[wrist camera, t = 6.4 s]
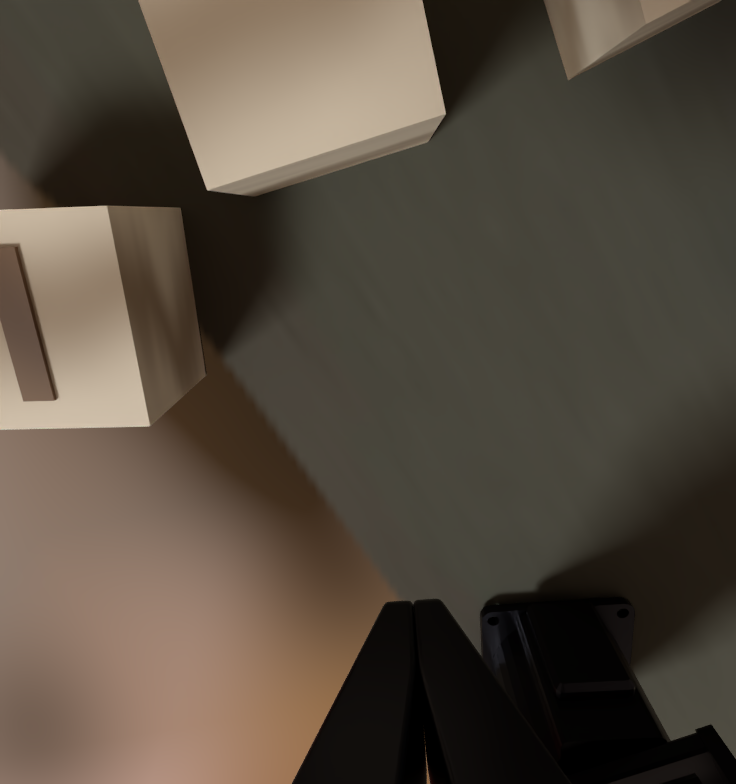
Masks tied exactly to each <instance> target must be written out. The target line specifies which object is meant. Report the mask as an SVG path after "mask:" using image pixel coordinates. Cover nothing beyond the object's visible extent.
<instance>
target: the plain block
mask: <svg viewBox="0 0 736 784" xmlns="http://www.w3.org/2000/svg"><path fill="white" fill-rule="evenodd" d="M139 3H140V6H141V9H142V11H143V14H144V17H145V20H146V23H147V25H148V28H149V31H150V34H151V36H152V39H153V42H154V45H155V47H156V50H157V53H158V56H159V59H160V61H161V64H162V67H163V70H164V72H165V75H166V78H167V81H168V83H169V86H170V89H171V92H172V94H173V97H174V100H175V103H176V106H177V108H178V111H179V114H180V117H181V119H182V122H183V125H184V128H185V130H186V133H187V136H188V139H189V141H190V144H191V147H192V150H193V153H194V155H195V158H196V161H197V164H198V166H199V169H200V172H201V175H202V177H203V180H204V183H205V186H206V189H207V190H208V191H216V192H223V193H231V194H238V195H246V196H253V197H255V196H259V195H262V194H265V193H268V192H271V191H274V190H278V189H281V188H284V187H287V186H290V185H293V184H297V183H300V182H303V181H306V180H309V179H312V178H316V177H319V176H322V175H325V174H328V173H331V172H335V171H338V170H341V169H344V168H347V167H351V166H354V165H357V164H360V163H363V162H366V161H370V160H373V159H376V158H379V157H382V156H385V155H389V154H392V153H395V152H398V151H401V150H404V149H408V148H411V147H414V146H417V145H420V144H424V143H427V142H428V141H429V140H430V138H431V137H432V135H433V134H434V132H435V130H436V129H437V127H438V126H439V124H440V122H441V121H442V119H443V118H444V116H445V115H446V112H445V107H444V102H443V97H442V92H441V88H440V83H439V78H438V73H437V68H436V64H435V59H434V54H433V49H432V44H431V40H430V35H429V30H428V25H427V20H426V16H425V11H424V6H423V1H422V0H139Z"/></svg>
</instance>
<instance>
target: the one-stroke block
mask: <svg viewBox="0 0 736 784" xmlns="http://www.w3.org/2000/svg"><path fill="white" fill-rule="evenodd" d="M206 375H207V371H206V364H205V358H204V351H203V344H202V338H201V332H200V330H199V326H198V319H197V313H196V306H195V299H194V293H193V286H192V279H191V273H190V266H189V259H188V253H187V246H186V239H185V233H184V226H183V219H182V213H181V208H175V207H138V206H86V207H61V208H35V209H10V210H0V430H5V429H7V430H9V429H52V428H53V429H54V428H99V427H142V426H143V427H144V426H151V425H152V424H153V423H154V422H155V421H156V420H158V419H159V418H160V417H161V416H162V415H163V414H164V413H165V412H166V411H167V410H168V409H170V408H171V407H172V406H173V405H174V404H175V403H176V402H177V401H178V400H179V399H181V398H182V397H183V396H184V395H185V394H186V393H187V392H188V391H189V390H190V389H191V388H192V387H193V386H195V385H196V384H197V383H198V382H199V381H200V380H201V379H202V378H203V377H205V376H206Z"/></svg>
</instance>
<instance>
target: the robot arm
mask: <svg viewBox="0 0 736 784" xmlns="http://www.w3.org/2000/svg"><path fill="white" fill-rule="evenodd" d="M413 609H414V611H413ZM620 609H623V610H621V611H619V610H620ZM493 616H494V617H495V618H493V619H489V618H490V617H493ZM634 617H635V610H634V608H633V606H632V605H631V603H630V602H629V600H628V599H626V598H622V597H615V598H599V599H583V600H567V601H551V602H535V603H519V604H503V605H490V606H486V607H485V608H483V609H482V610H481V613H480V627H481V653H482V657H481V655H480V654H479V653H478V651H477V650H476V648H475V647H474V645H473V644H472V643H471V641H470V640H469V638H468V637H467V636H466V634H465V633H464V631H463V630H462V629H461V627H460V626H459V624H458V623H457V622H456V620H455V619H454V617H453V616H452V614H451V613H450V612H449V610H448V609H447V607H446V606H445V605H444V603H443V602H442V601H441V600H439V599H425V600H416V601H415V602H414V604H412V603H411V602H410V601H394V602H387V603H385V605H384V606H383V608H382V610H381V612H380V613H379V615H378V617H377V619H376V621H375V623H374V625H373V627H372V629H371V631H370V633H369V635H368V637H367V639H366V641H365V643H364V645H363V646H362V648H361V651H360V652H359V654H358V656H357V658H356V660H355V662H354V664H353V666H352V668H351V670H350V672H349V674H348V676H347V678H346V679H345V681H344V683H343V685H342V687H341V690H340V691H339V693H338V695H337V697H336V699H335V701H334V703H333V705H332V707H331V709H330V711H329V713H328V714H327V716H326V719H325V720H324V723H323V724H322V726H321V728H320V730H319V732H318V734H317V736H316V738H315V740H314V742H313V744H312V746H311V748H310V749H309V751H308V754H307V755H306V757H305V759H304V761H303V763H302V765H301V767H300V769H299V771H298V773H297V775H296V777H295V779H294V780H293V782H292V784H427V775H426V773H427V769H426V756H427V765H428V773H429V779H430V784H736V759H735V758H734V756H733V755H732V753H731V752H730V750H729V749H728V748H727V746H726V745H725V743H724V742H723V740H722V739H721V738H720V736H719V735H718V733H717V732H716V730H715V729H714V728H713V726H712V725H707V726H704V727H701V728H698V729H695V730H696V733H694V734H691V735H688V736H685V737H682V738H679V739H676V740H673V741H671V740H670V739H669V737H668V735H667V733H666V731H665V729H664V728H663V726H662V724H661V722H660V720H659V718H658V717H657V715H656V713H655V711H654V709H653V707H652V706H651V704H650V702H649V700H648V698H647V696H646V695H645V693H644V691H643V689H642V687H641V685H640V684H639V682H638V680H637V678H636V676H635V674H634V673H633V671H632V669H631V667H630V662H631V651H632V639H633V628H634ZM423 725H424V726H423ZM424 736H425V738H424ZM425 746H426V750H425Z"/></svg>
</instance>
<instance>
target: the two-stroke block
mask: <svg viewBox="0 0 736 784" xmlns="http://www.w3.org/2000/svg"><path fill="white" fill-rule="evenodd" d="M720 1H722V0H544V3H545V6H546V9H547V13H548V16H549V19H550V22H551V26H552V29H553V32H554V36H555V39H556V42H557V45H558V49H559V52H560V55H561V59H562V62H563V65H564V68H565V72H566V75H567V78H568V80H569V79H571V78H573V77H575V76H577V75H579V74H581V73H583V72H585V71H587V70H589V69H591V68H593V67H595V66H596V65H598V64H600V63H602V62H604V61H606V60H608V59H610V58H612V57H614V56H616V55H618V54H620V53H622V52H624V51H625V50H627V49H629V48H631V47H633V46H635V45H637V44H639V43H641V42H643V41H645V40H647V39H649V38H651V37H652V36H654V35H656V34H658V33H660V32H662V31H664V30H666V29H668V28H670V27H672V26H674V25H676V24H678V23H679V22H681V21H683V20H685V19H687V18H689V17H691V16H693V15H695V14H697V13H699V12H701V11H703V10H705V9H707V8H708V7H710V6H712V5H714V4H716V3H718V2H720Z"/></svg>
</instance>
